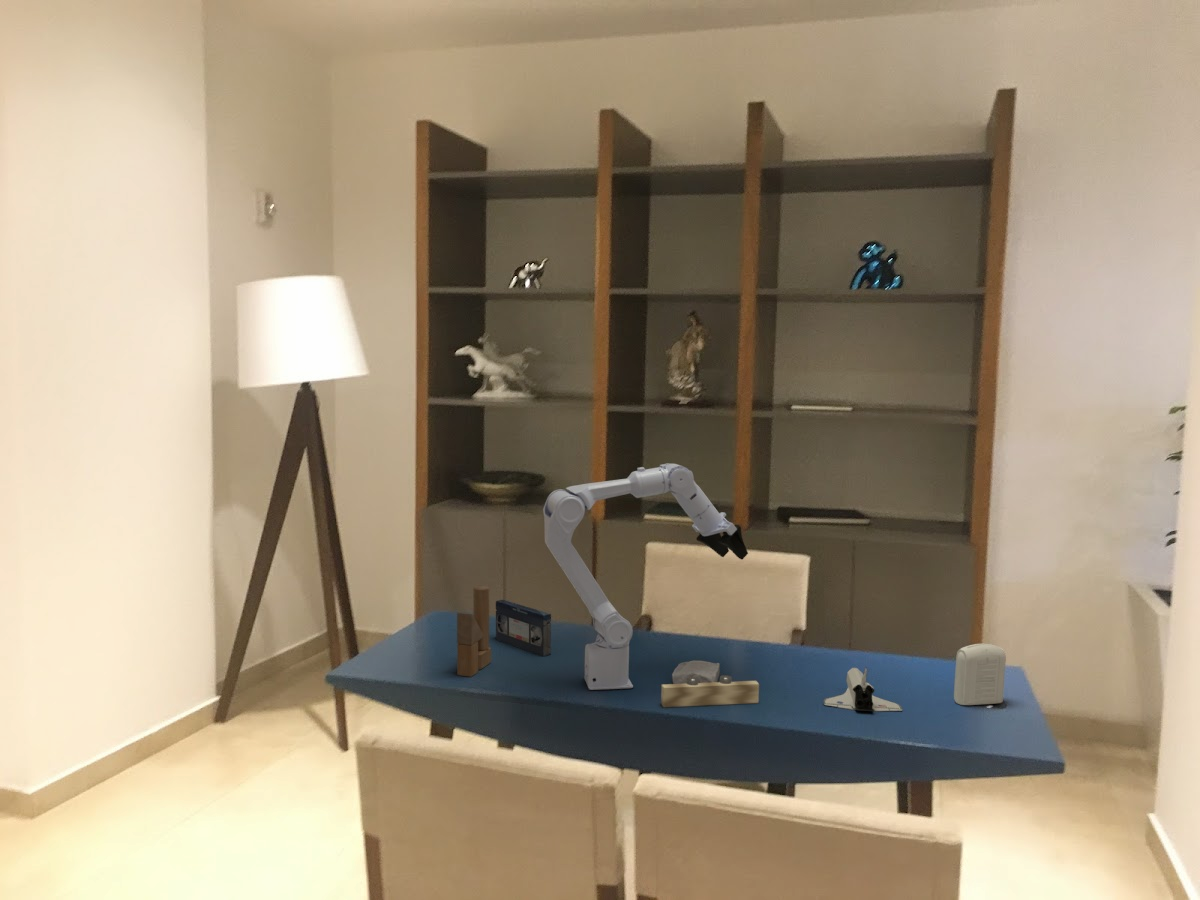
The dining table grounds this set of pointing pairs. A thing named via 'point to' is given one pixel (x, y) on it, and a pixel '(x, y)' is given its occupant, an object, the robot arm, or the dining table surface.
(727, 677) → the bench stop
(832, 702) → the space shuttle model
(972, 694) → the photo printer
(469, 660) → the stacked wooden blocks
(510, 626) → the vhs cassette tape
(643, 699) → the dining table surface
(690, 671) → the stone block
